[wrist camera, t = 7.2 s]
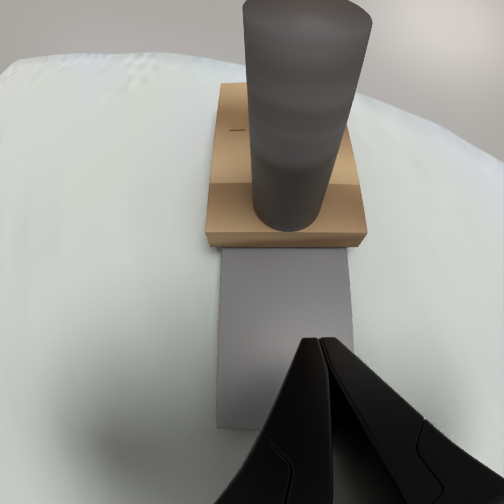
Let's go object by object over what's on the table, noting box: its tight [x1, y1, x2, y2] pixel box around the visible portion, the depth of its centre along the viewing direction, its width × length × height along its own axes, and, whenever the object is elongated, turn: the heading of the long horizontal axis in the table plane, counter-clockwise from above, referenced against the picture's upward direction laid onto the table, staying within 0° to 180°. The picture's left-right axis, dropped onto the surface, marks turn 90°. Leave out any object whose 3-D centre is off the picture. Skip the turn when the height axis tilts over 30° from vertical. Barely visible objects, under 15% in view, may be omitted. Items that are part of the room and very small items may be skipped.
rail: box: [217, 247, 354, 429], centre depth 13 cm, size 16×6×7 cm, turn 179°
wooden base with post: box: [205, 0, 372, 247], centre depth 12 cm, size 10×7×11 cm
